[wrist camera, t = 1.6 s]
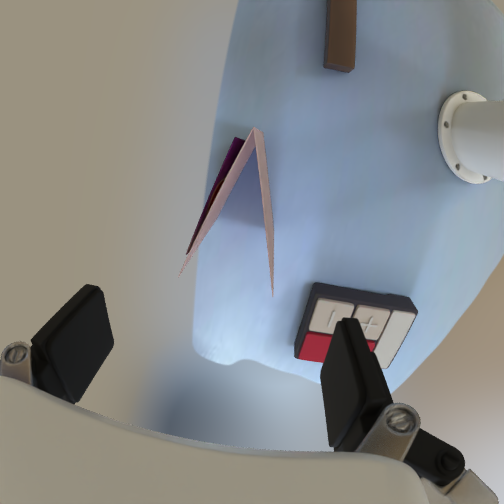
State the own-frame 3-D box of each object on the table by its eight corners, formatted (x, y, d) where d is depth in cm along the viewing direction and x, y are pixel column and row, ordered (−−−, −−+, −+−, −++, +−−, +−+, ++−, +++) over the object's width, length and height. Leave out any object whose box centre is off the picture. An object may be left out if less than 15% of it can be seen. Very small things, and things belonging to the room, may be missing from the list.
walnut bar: (351, -7, 21) (356, -15, 19) (349, 73, 26) (354, 68, 24) (327, -12, 21) (331, -21, 19) (323, 67, 26) (326, 62, 24)
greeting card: (255, 128, 29) (240, 120, 16) (314, 161, 30) (347, 181, 17) (210, 215, 34) (167, 271, 20) (265, 244, 35) (258, 317, 21)
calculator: (315, 296, 33) (421, 313, 32) (313, 279, 37) (411, 297, 36) (293, 362, 37) (388, 373, 36) (293, 342, 41) (382, 354, 40)
